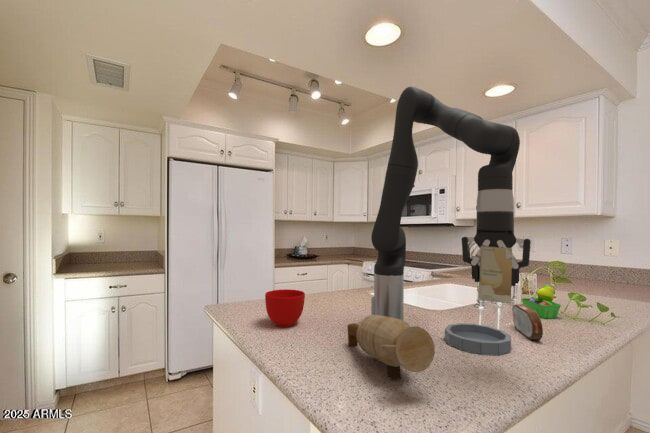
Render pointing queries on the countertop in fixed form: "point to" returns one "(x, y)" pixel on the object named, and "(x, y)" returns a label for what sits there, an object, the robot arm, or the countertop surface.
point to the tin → (527, 321)
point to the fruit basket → (543, 303)
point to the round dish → (478, 339)
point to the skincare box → (495, 275)
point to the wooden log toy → (393, 343)
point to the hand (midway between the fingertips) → (494, 283)
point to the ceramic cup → (284, 306)
